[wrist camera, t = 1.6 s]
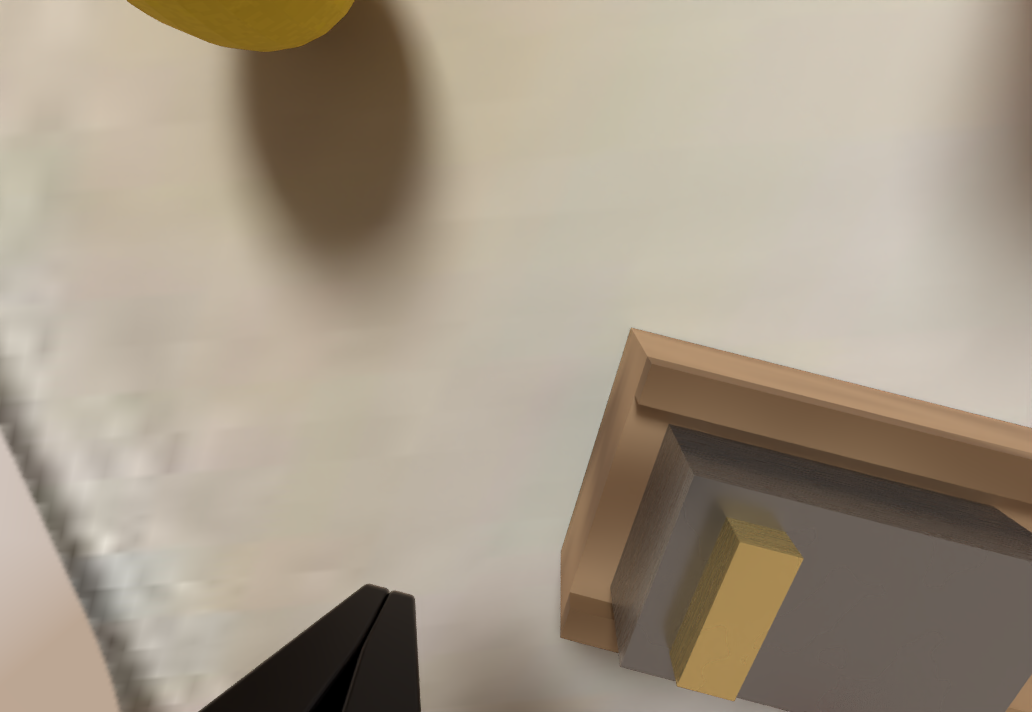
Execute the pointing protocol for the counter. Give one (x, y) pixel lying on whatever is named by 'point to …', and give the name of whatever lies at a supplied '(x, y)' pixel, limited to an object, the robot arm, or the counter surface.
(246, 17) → the lemon
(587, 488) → the body
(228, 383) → the counter surface
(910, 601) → the lever cap
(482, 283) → the counter surface
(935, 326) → the counter surface
